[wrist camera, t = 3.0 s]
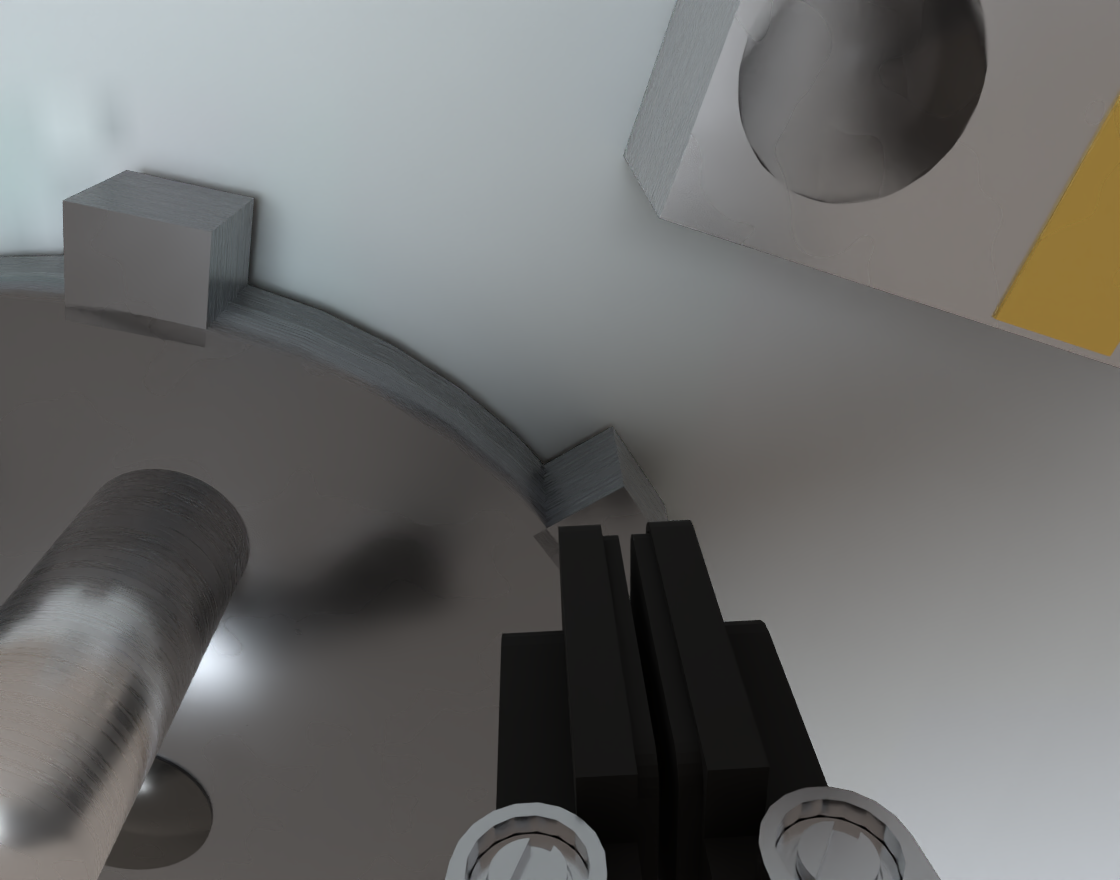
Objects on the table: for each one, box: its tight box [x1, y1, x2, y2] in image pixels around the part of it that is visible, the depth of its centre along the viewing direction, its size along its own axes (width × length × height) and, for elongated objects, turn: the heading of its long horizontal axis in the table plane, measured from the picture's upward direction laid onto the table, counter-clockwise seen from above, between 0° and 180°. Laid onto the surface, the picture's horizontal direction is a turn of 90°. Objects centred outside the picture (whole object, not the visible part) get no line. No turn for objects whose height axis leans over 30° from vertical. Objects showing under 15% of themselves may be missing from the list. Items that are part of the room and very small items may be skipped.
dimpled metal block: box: [624, 0, 1120, 368], centre depth 12 cm, size 10×4×4 cm, turn 72°
